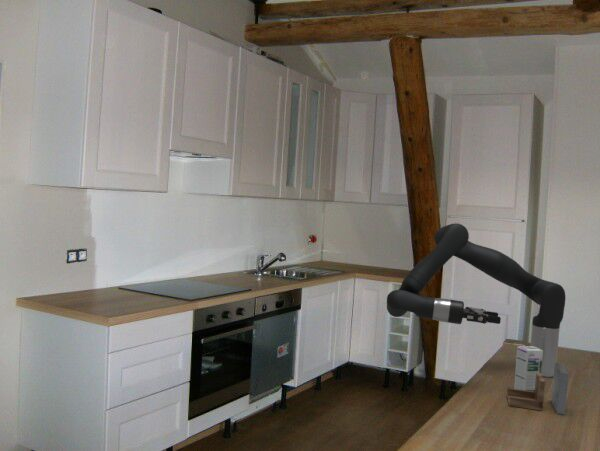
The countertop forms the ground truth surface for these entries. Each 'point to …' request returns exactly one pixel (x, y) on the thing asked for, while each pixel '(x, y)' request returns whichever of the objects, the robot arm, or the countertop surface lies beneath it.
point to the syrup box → (527, 367)
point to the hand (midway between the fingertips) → (499, 318)
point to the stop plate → (559, 388)
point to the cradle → (528, 395)
